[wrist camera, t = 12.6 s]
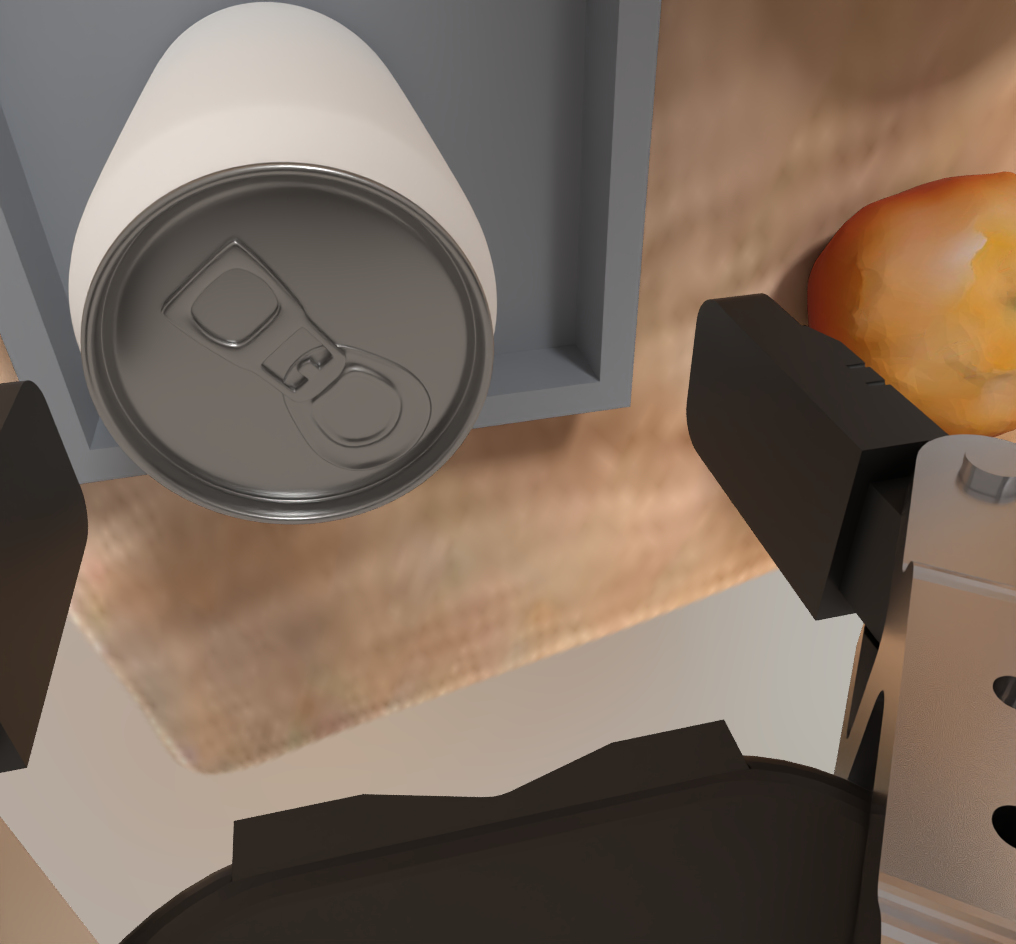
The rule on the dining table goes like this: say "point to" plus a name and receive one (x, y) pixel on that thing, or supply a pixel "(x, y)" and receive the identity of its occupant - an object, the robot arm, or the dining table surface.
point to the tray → (450, 123)
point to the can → (281, 277)
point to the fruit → (930, 298)
